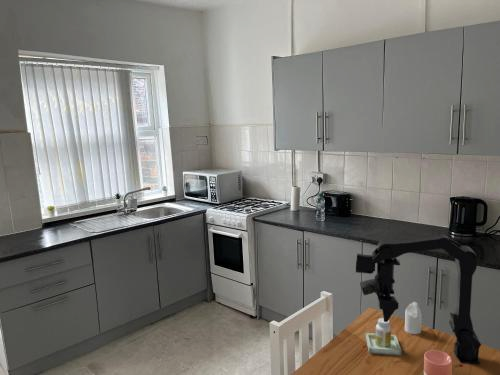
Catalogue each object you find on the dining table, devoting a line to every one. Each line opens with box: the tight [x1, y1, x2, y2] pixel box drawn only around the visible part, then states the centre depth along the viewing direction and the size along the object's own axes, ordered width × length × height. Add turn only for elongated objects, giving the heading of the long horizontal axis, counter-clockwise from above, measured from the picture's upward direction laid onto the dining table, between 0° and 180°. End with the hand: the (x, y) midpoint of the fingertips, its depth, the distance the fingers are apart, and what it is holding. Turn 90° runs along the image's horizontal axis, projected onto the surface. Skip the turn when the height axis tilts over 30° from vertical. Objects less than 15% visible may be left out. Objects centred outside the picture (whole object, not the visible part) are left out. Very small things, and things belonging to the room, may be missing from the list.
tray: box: [365, 332, 402, 356], centre depth 140 cm, size 11×10×2 cm
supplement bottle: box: [375, 317, 392, 348], centre depth 139 cm, size 5×5×10 cm
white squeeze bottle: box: [404, 301, 423, 335], centre depth 149 cm, size 6×12×6 cm
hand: (383, 315), depth 138 cm, fingers open, 9 cm apart
